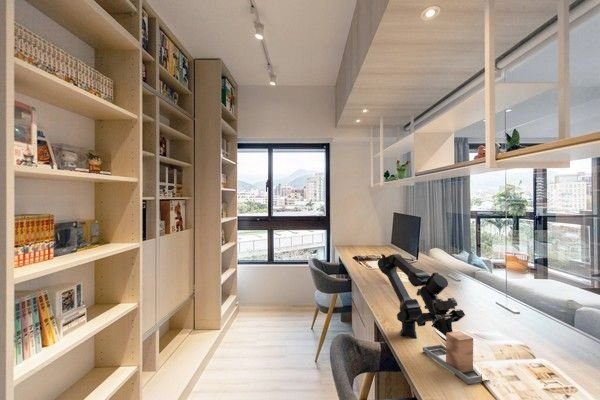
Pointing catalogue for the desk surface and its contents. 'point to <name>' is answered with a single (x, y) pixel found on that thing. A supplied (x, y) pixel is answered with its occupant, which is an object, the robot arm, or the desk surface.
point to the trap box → (440, 358)
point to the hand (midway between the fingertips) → (452, 340)
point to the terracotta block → (459, 351)
